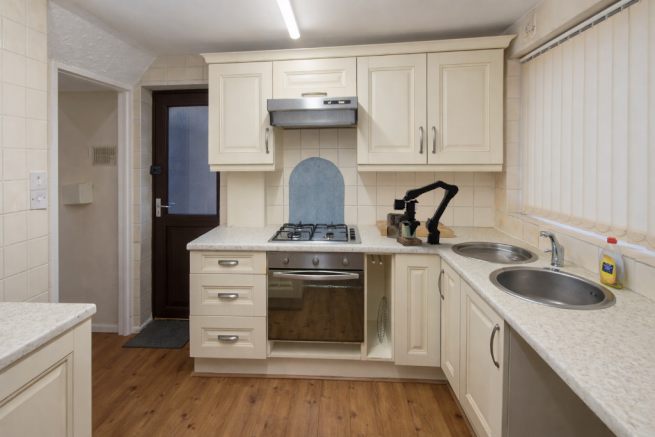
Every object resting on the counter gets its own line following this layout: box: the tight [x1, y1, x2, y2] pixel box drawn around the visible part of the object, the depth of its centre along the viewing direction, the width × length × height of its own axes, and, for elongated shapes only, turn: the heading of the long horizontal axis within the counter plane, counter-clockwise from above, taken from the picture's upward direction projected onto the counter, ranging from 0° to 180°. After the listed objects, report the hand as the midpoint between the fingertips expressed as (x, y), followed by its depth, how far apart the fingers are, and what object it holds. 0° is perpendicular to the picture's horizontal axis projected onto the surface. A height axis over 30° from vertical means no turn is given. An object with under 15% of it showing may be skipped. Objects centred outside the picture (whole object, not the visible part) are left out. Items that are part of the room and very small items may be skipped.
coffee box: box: [386, 212, 403, 239], centre depth 242 cm, size 9×6×16 cm
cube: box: [402, 225, 417, 237], centre depth 224 cm, size 6×6×6 cm
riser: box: [396, 236, 423, 247], centre depth 225 cm, size 12×12×3 cm
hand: (409, 234), depth 224 cm, fingers closed on cube, 6 cm apart
